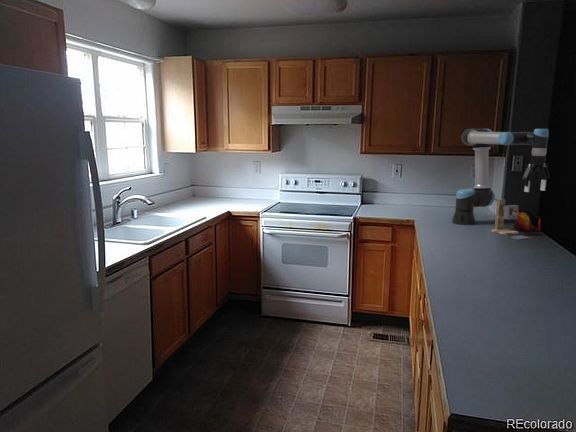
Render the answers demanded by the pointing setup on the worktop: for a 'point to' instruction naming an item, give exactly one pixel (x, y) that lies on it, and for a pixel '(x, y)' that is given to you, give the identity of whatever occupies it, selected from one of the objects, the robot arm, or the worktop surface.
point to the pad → (520, 237)
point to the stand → (502, 219)
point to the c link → (507, 212)
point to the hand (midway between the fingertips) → (534, 191)
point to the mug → (525, 221)
